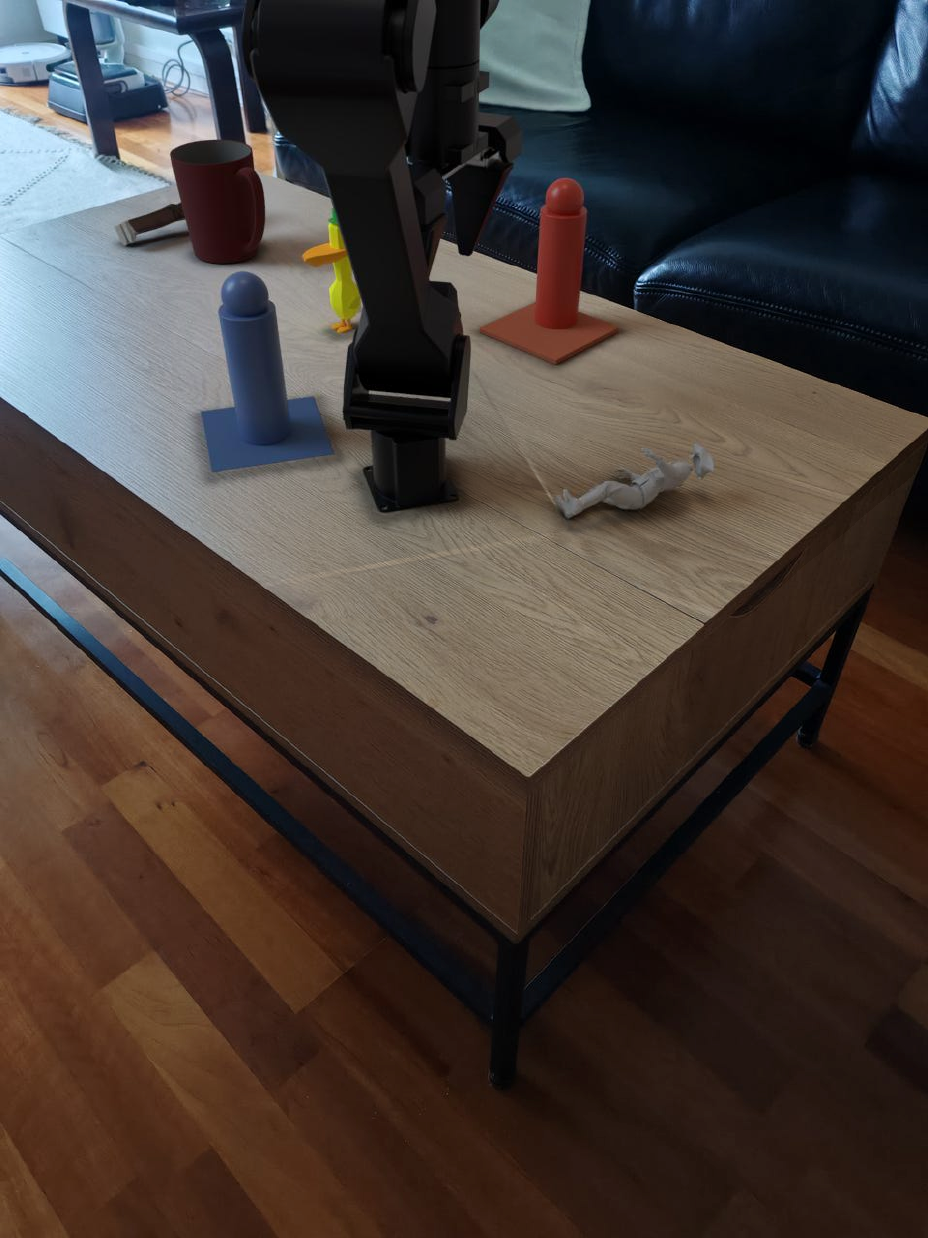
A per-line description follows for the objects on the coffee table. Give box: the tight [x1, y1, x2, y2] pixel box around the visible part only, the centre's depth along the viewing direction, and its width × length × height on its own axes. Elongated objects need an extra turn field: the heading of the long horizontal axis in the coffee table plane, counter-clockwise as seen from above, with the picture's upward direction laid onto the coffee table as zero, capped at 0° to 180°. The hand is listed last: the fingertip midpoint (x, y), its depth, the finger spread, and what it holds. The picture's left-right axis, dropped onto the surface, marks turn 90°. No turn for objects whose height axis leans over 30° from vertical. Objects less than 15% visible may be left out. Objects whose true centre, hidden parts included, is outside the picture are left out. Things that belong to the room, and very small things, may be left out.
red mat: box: [479, 301, 620, 365], centre depth 98 cm, size 10×10×1 cm
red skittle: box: [534, 177, 588, 329], centre depth 95 cm, size 4×4×14 cm
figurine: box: [114, 201, 186, 246], centre depth 116 cm, size 8×5×15 cm
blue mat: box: [200, 395, 335, 473], centre depth 83 cm, size 10×10×1 cm
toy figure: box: [301, 207, 362, 334], centre depth 94 cm, size 7×4×12 cm, turn 129°
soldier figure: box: [555, 442, 715, 519], centre depth 75 cm, size 8×5×12 cm
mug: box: [169, 139, 266, 264], centre depth 109 cm, size 12×9×11 cm
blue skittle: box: [217, 270, 291, 445], centre depth 78 cm, size 4×4×14 cm
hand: (441, 274), depth 79 cm, fingers open, 9 cm apart
